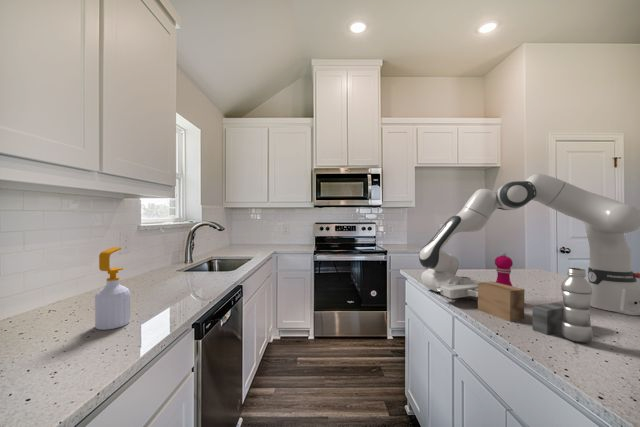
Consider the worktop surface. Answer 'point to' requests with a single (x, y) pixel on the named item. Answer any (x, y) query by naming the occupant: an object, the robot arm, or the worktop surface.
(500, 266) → the pepper mill
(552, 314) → the charcoal board
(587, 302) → the silver metal bottle
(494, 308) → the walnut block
